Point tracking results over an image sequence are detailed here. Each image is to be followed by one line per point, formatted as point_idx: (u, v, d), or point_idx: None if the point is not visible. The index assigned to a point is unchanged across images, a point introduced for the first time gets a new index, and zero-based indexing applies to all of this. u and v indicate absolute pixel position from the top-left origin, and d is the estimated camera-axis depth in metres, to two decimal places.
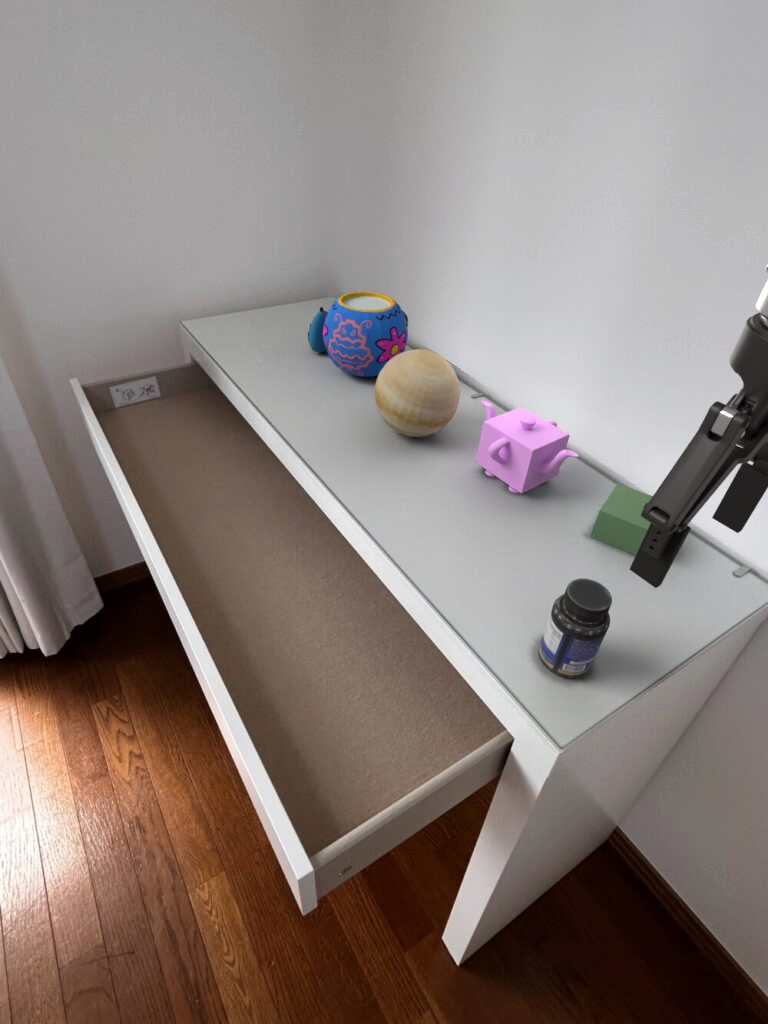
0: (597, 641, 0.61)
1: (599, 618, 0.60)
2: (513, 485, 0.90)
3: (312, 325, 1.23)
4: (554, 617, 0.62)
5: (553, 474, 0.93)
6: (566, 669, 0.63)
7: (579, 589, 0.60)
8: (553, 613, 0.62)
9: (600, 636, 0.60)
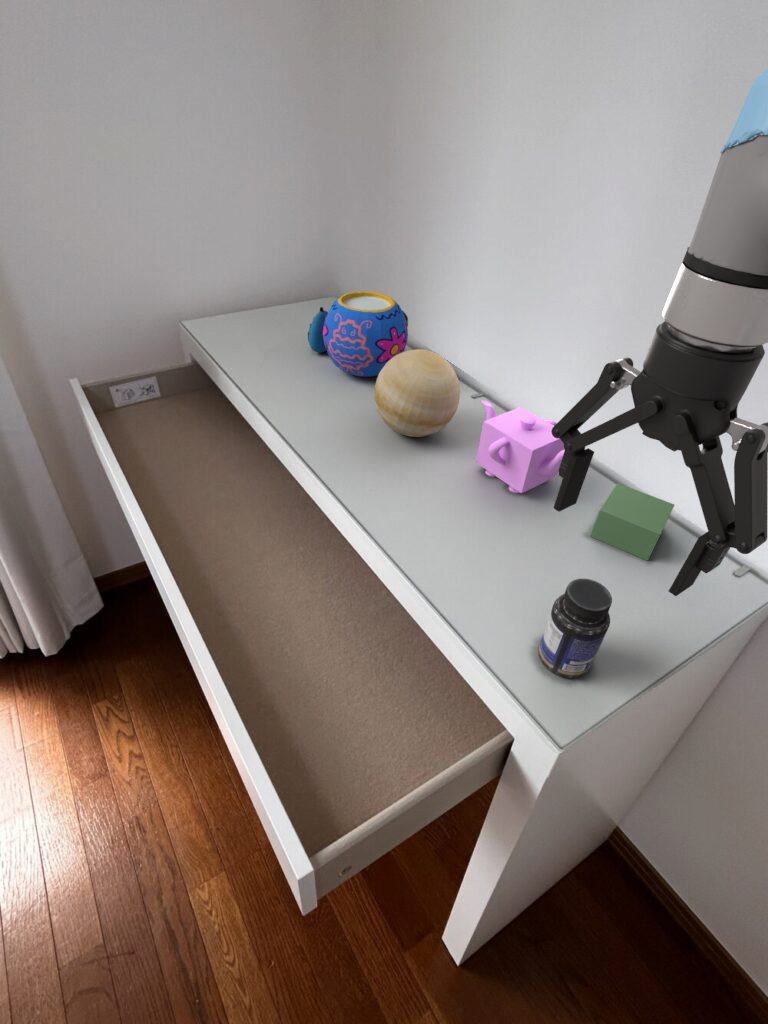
0: (597, 641, 0.61)
1: (599, 618, 0.60)
2: (513, 485, 0.90)
3: (312, 325, 1.23)
4: (554, 617, 0.62)
5: (553, 474, 0.93)
6: (566, 669, 0.63)
7: (579, 589, 0.60)
8: (553, 613, 0.62)
9: (600, 636, 0.60)
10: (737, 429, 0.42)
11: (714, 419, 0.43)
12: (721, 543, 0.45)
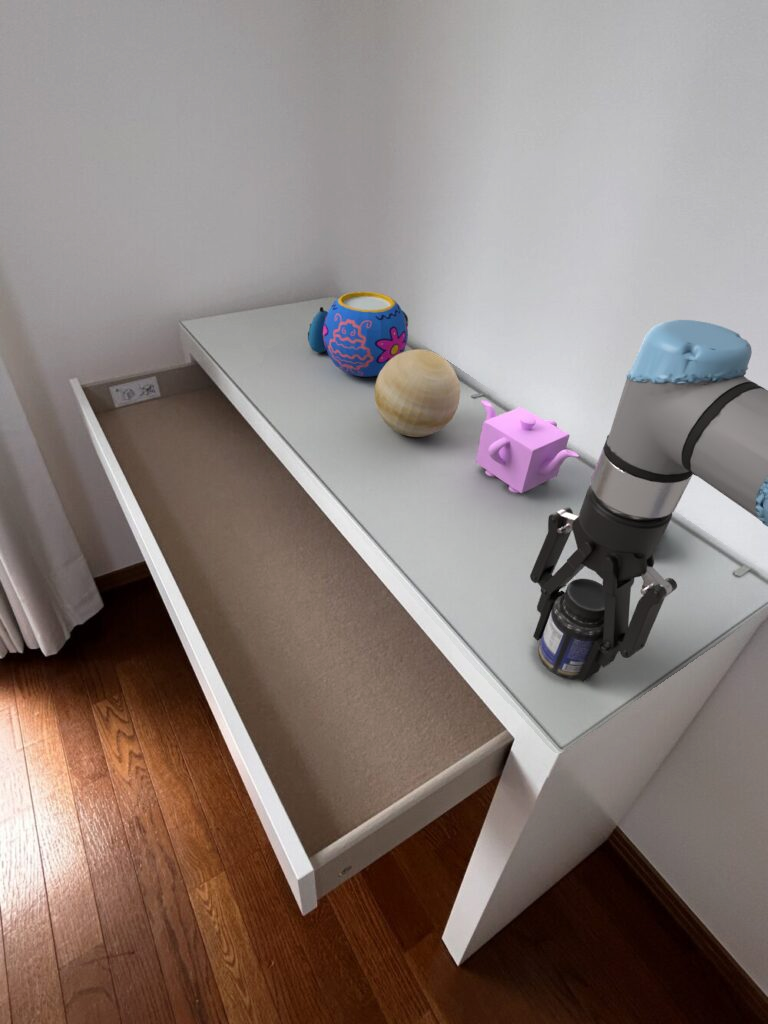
0: None
1: (599, 618, 0.60)
2: (513, 485, 0.90)
3: (312, 325, 1.23)
4: (554, 617, 0.62)
5: (553, 474, 0.93)
6: (566, 669, 0.63)
7: (579, 589, 0.60)
8: (553, 613, 0.62)
9: (600, 636, 0.60)
10: (649, 579, 0.53)
11: (635, 566, 0.53)
12: (609, 650, 0.58)
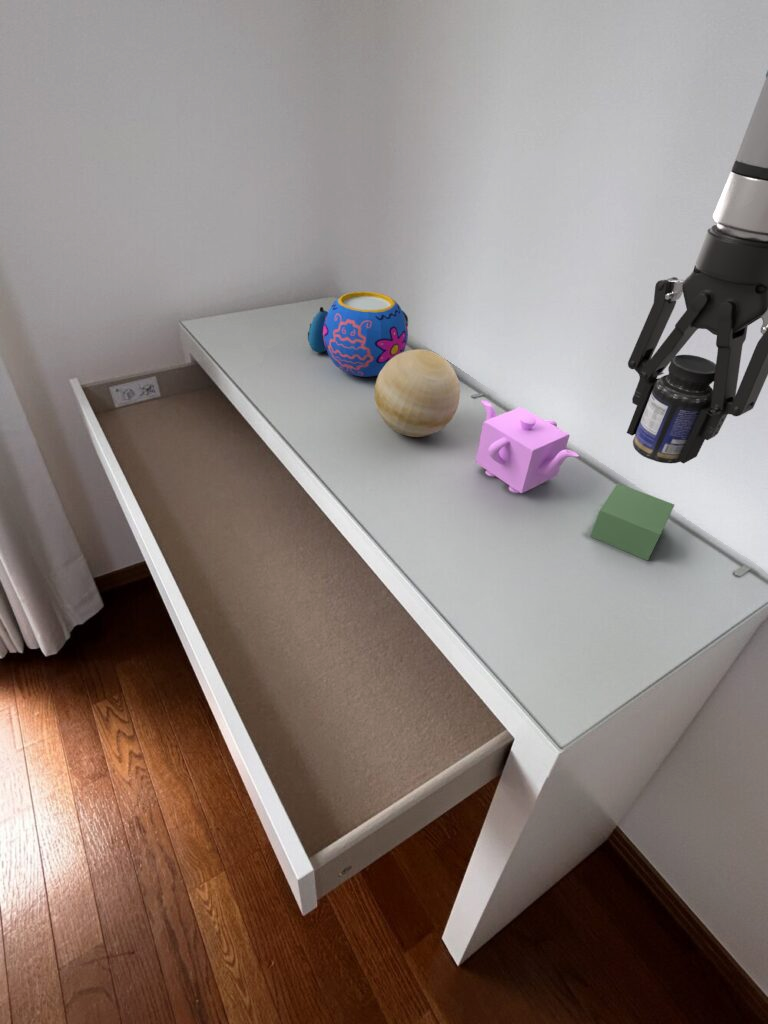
0: None
1: (706, 386, 0.60)
2: (513, 485, 0.90)
3: (312, 325, 1.23)
4: (657, 393, 0.62)
5: (553, 474, 0.93)
6: (666, 451, 0.64)
7: (684, 360, 0.61)
8: (656, 390, 0.62)
9: (706, 406, 0.60)
10: None
11: (756, 304, 0.53)
12: (719, 411, 0.58)
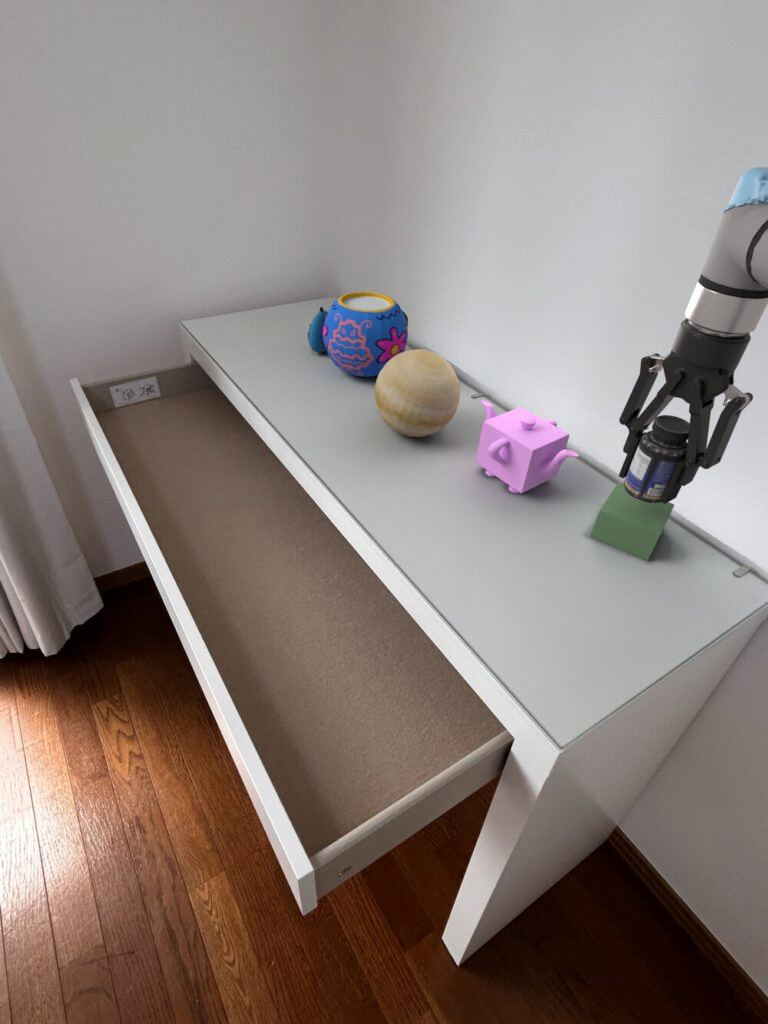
0: None
1: (682, 443, 0.73)
2: (513, 485, 0.90)
3: (312, 325, 1.23)
4: (643, 446, 0.75)
5: (553, 474, 0.93)
6: (650, 493, 0.77)
7: (665, 421, 0.74)
8: (642, 444, 0.76)
9: (682, 459, 0.74)
10: (730, 393, 0.66)
11: (719, 383, 0.66)
12: (692, 464, 0.71)
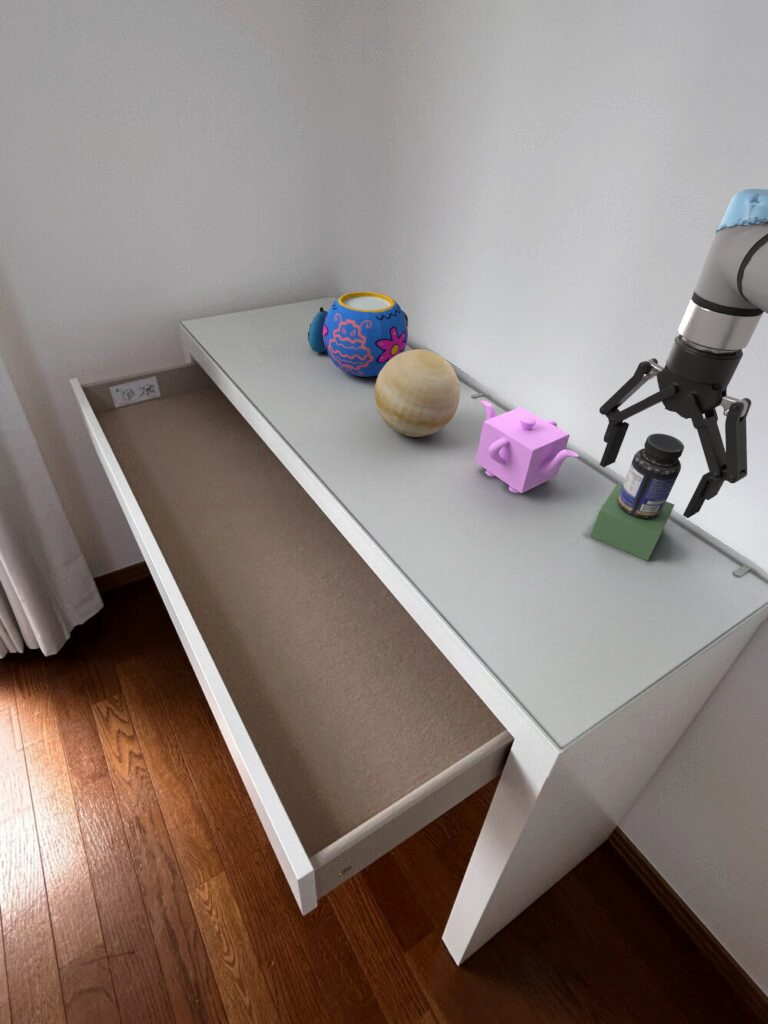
0: (671, 481, 0.76)
1: (674, 461, 0.75)
2: (513, 485, 0.90)
3: (312, 325, 1.23)
4: (636, 464, 0.77)
5: (553, 474, 0.93)
6: (643, 509, 0.79)
7: (657, 439, 0.76)
8: (634, 461, 0.77)
9: (674, 476, 0.76)
10: (726, 402, 0.67)
11: (712, 396, 0.67)
12: (717, 477, 0.69)
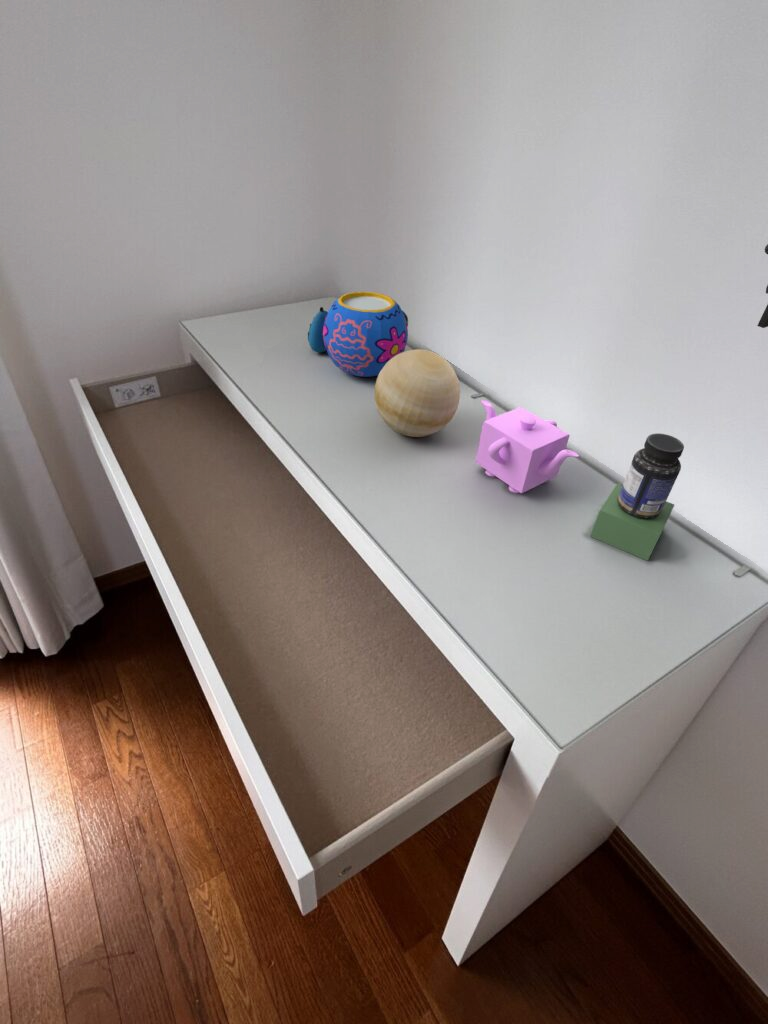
0: (671, 481, 0.76)
1: (673, 461, 0.75)
2: (513, 485, 0.90)
3: (312, 325, 1.23)
4: (636, 464, 0.77)
5: (553, 474, 0.93)
6: (643, 509, 0.79)
7: (657, 439, 0.76)
8: (634, 461, 0.77)
9: (674, 476, 0.76)
10: None
11: None
12: None
